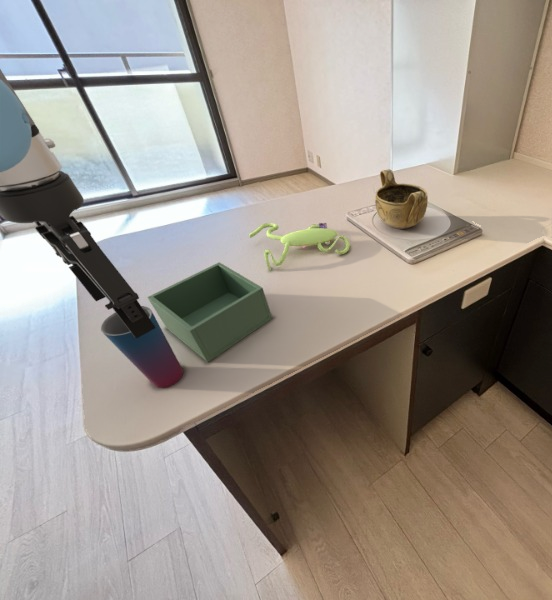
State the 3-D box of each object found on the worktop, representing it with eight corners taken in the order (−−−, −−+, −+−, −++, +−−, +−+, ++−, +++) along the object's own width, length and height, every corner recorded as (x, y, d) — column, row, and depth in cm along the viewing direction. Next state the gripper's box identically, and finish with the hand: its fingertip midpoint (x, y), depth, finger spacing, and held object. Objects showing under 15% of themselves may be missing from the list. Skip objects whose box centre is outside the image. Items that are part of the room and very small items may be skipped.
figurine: (251, 240, 99) (246, 223, 95) (336, 225, 108) (335, 209, 104) (257, 273, 86) (252, 256, 83) (353, 253, 95) (352, 237, 91)
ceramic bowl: (363, 215, 114) (361, 172, 104) (405, 206, 120) (407, 164, 111) (394, 245, 99) (395, 198, 90) (440, 233, 106) (445, 188, 96)
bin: (207, 362, 64) (189, 331, 58) (166, 328, 71) (147, 297, 65) (272, 318, 74) (262, 287, 68) (231, 292, 80) (219, 262, 75)
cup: (196, 372, 62) (160, 315, 52) (160, 398, 58) (114, 342, 48) (175, 356, 65) (138, 300, 55) (139, 380, 60) (92, 324, 51)
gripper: (110, 196, 34) (190, 333, 48) (28, 148, 44) (114, 273, 58) (16, 223, 29) (136, 367, 43) (-51, 162, 40) (63, 294, 54)
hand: (123, 313), depth 51 cm, fingers open, 13 cm apart
